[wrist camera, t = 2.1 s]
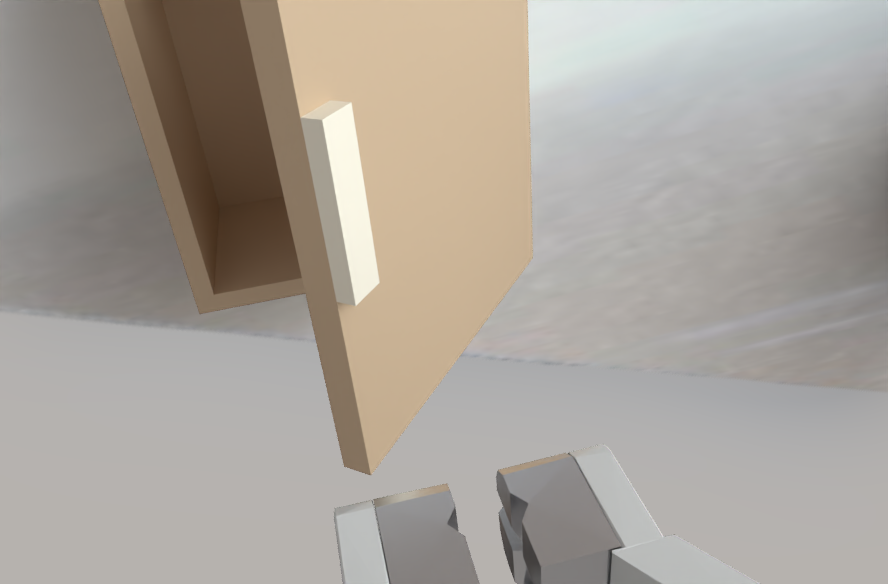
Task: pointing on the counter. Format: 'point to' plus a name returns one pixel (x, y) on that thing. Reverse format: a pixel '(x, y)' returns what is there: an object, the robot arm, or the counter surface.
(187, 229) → the tan box
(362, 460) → the lid
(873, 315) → the counter surface
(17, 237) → the counter surface
